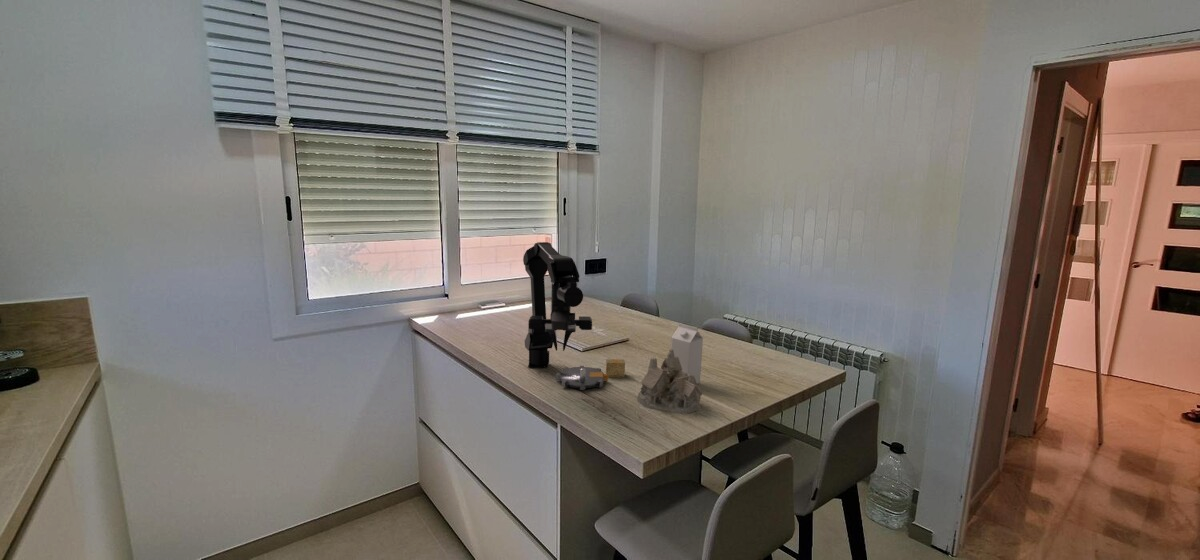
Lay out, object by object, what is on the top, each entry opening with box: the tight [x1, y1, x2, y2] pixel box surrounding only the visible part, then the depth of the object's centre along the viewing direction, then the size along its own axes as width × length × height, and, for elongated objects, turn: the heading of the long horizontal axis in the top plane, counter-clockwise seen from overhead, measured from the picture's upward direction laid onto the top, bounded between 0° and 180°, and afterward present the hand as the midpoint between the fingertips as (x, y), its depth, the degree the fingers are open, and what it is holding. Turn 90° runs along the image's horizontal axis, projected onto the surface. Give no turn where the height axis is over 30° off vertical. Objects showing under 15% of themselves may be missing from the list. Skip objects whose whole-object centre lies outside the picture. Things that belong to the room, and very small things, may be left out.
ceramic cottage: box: [636, 348, 703, 415], centre depth 136 cm, size 16×16×15 cm
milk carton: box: [670, 322, 704, 385], centre depth 152 cm, size 7×7×19 cm
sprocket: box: [555, 365, 609, 391], centre depth 151 cm, size 16×16×6 cm
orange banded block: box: [605, 358, 626, 378], centre depth 158 cm, size 6×4×5 cm, turn 93°
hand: (560, 350), depth 144 cm, fingers closed
